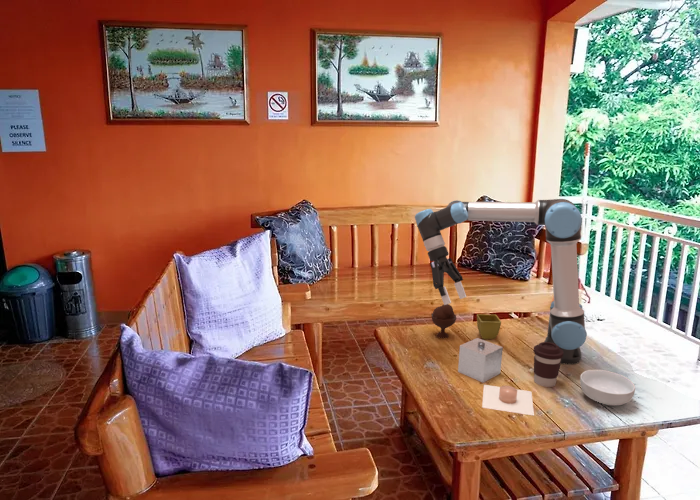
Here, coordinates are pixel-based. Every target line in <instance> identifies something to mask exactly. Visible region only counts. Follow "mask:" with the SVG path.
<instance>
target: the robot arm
mask: <svg viewBox="0 0 700 500" xmlns="http://www.w3.org/2000/svg"><path fill="white" fill-rule="evenodd" d="M414 221H415V223H416V227H417V229H418V231H419V234H420V236H421V240H422V242H423V246H424V247H425V251H427V255H428V258H429V261H430V265H429V266H430V269H431V276H432V277H431V278H432V285H433V288H434V289H435V290H437V289H438V292H439V295H440V297H441V300H442V302H443V305H446V304H449V305H450V304H451V303H452V301H451V298H450V296H449V293H448V290H447V288H446V286H445V285H444V283H445V282H444V280H445V278H444V277H445V273H447V275H448V276H449V277H450V279H452V281H453V284H454V285H453V286H454V288H455V290H456V292H457V296H458V297H459V300H461V299H464V298H467V295H466V292H465V288H464V286H463V284H462V281H464V279H463V276H462V274H461V272H460V271H459V269H458V268H457V267H456V265H455V263H454V262H453V260H452V258H451V257H448V258H447V256H449V251H448V248H447V246H445V244H446V243H445V240H444V238H443V235H442V232H441V231H444V230H446V229H447V228H450V227H453V226H456V225H458V224H462V223H463V222H465V221H481V222H482V221H483V222H484V221H485V222H513V223H515V222H516V223H519V222H520V223H523V222H524V223H535V224H536V226H545V229H544V230H545V241H546V242H547V243H548V244H549V245H550V254H551V270H552V271H551V272H552V287H553V288H552V289H553V290H552V291H553V301H551V303H550V307H549V318H548V319H549V320H548V325H547V326H548V327H547V335H546V338H545V340H544V341H543V342H550V343H554V344H556V345H558V346H559V348H560V349H562V350H563V352H564V353H563V357H562V358H561V364H560V365H574V364H575V365H576V364H579V363H581V360H582V351H581V347H582V346H583V345H584V344H585V342H586V340H587V335H588V333H587V331H586V330H587V329H586V325H585V324H586V323H585V322H586V321H585V310H584V308H583V305H582V304H580V295H579V294H580V292H579V291H580V289H579V270H578V269H579V268H578V253H577V252H578V250H577V243H578V242H579V241H580V240H581V239H582V235H581V233H582V232H581V229H582V228H581V226H582V223H583V217H582V214H581V212H580V210H579V208H577V207H576V205H575V204H574V203H573V202H572V201H570V200H568V199H565V198H555V199H554V198H553V199H538V200H536V201H535V202H534V201H533V202H531V201H530V202H528V201H527V202H523V201H521V202H519V201H518V202H517V201H516V202H510V201H507V202H506V201H461V200H458V199H457V200H452V201H451V202H449V203H448V204H447V205H446V207H444V208H442V209H440V210H437V211H433V209H432V208H427V209H424V210H421V211H418V212H417V213H416V214H415V215H414Z"/></svg>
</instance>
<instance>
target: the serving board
mask: <svg viewBox="0 0 700 500" xmlns="http://www.w3.org/2000/svg"><path fill="white" fill-rule="evenodd" d="M500 387H501V386H496V385H489V384H483V392H482V403H481V405H482V406H481V408H483V409H490V410H495V411H496V410H497V411H502V412H508V413H509V412H510V413H514V414H522V415H526V416H528V415H529V416H535V412H534V403H533V394H532V393H533V392H532V391H529V390H524V389H517V388H516V389H517V399H516V402H515V403H512V404H509V403H504V402H502V401H500V399H499V392H500Z"/></svg>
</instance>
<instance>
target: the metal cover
mask: <svg viewBox="0 0 700 500" xmlns="http://www.w3.org/2000/svg"><path fill="white" fill-rule="evenodd" d="M503 349H504V347H503V346H501V345H497V344H495V343H492V342H490V341H487V340H486V339H483V338H482V339H481V338H479V337H476V338H474V339H472V340H469V341H467V342H465V343H463V344H462V343H461V344H460V345H459V354H458V356H459V357H458V367H457V372H458V373H459V374H461V375H465V376H467V377H469V378H471V379H474V380H476V381H478V382H481V383H482V384H483V383H486V382H487V381H489V380H491V379H492V378H495V377H496V376H497V377H498V376H499V375H500V374H501V370H502V369H501V368H502V358H503Z"/></svg>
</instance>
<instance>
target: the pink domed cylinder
mask: <svg viewBox="0 0 700 500" xmlns="http://www.w3.org/2000/svg"><path fill="white" fill-rule="evenodd" d="M499 387H500V392H499V399H500V401H502V402H504V403H509V404H512V403H515V402H516V399H517V388H516V387H513V386H511V385H502V386H499Z"/></svg>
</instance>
